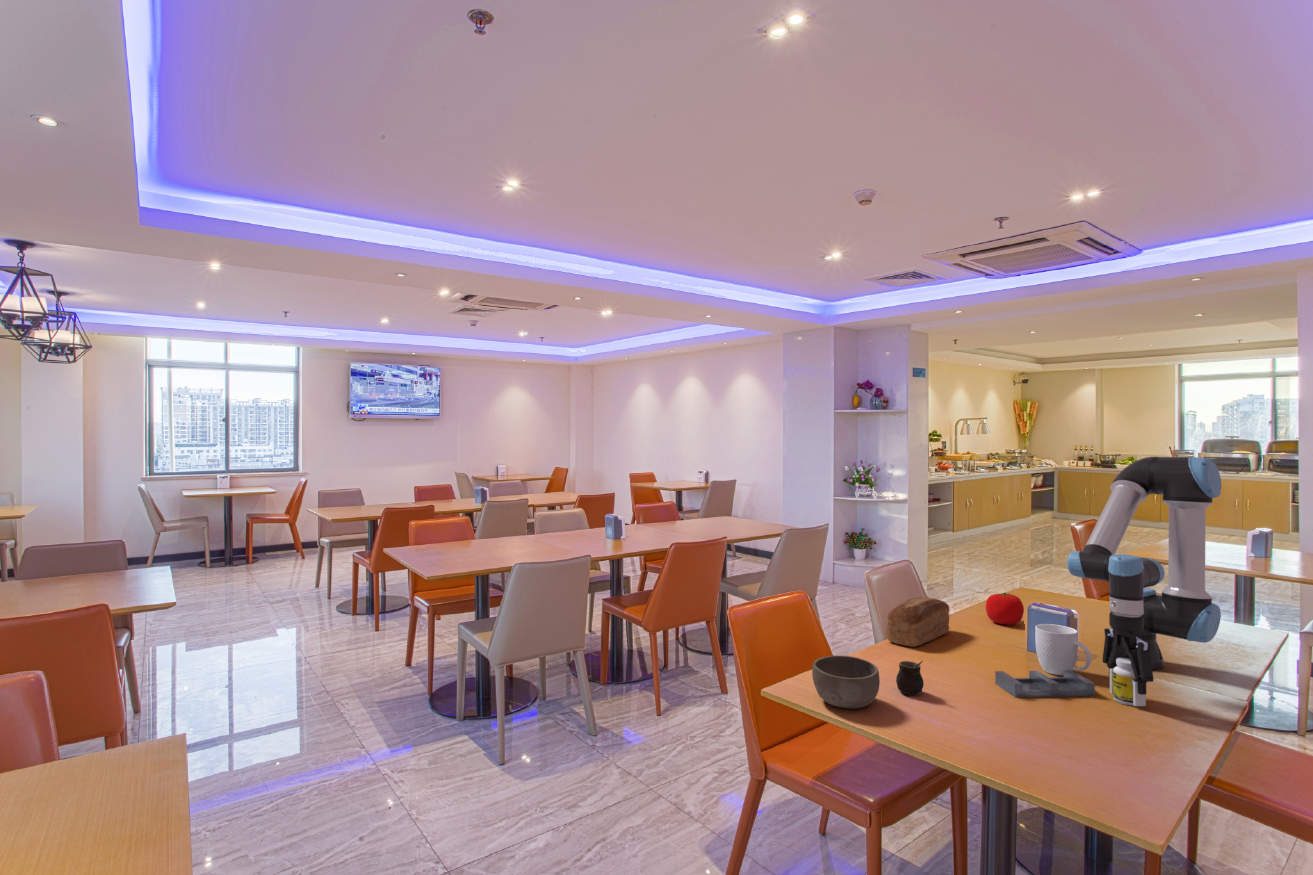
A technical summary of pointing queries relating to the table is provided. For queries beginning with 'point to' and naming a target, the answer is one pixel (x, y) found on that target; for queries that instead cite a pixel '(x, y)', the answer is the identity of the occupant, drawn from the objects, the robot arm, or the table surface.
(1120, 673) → the pill bottle
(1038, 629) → the mug
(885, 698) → the table surface
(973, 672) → the table surface
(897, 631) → the bread
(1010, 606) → the tomato
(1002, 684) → the gray divided tray
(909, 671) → the mate gourd
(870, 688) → the bowl
